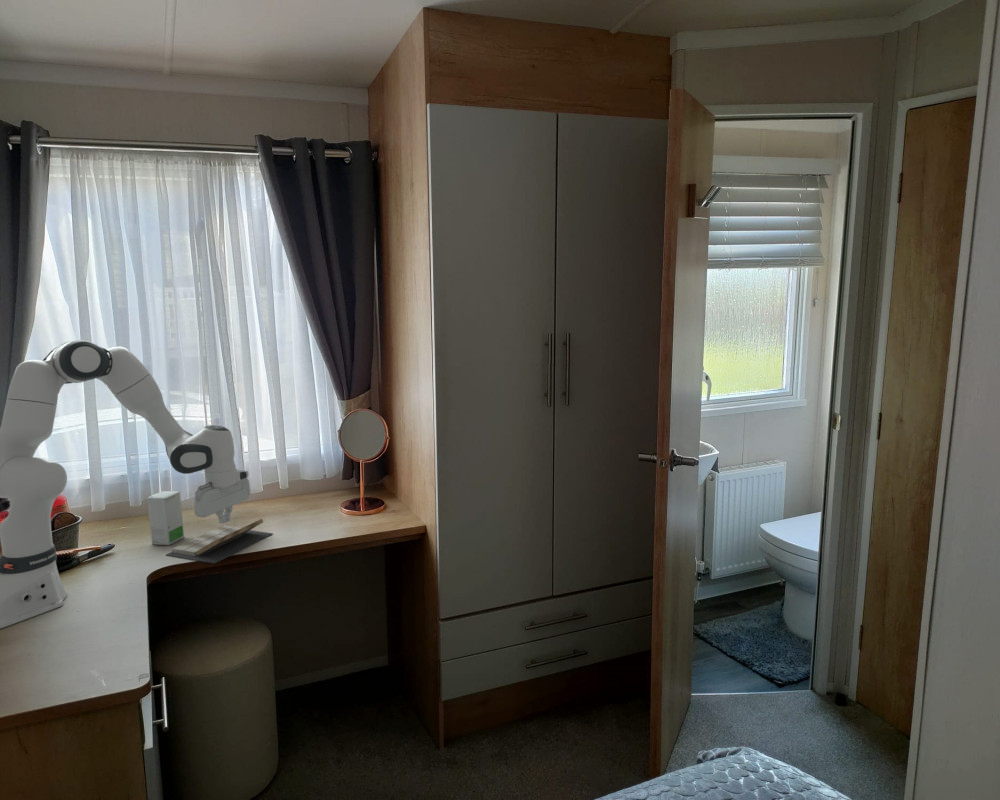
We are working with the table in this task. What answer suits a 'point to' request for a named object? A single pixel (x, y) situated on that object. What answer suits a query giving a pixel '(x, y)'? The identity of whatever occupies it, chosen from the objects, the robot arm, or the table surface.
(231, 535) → the plank
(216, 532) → the laid floor
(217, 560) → the underlay
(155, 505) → the skincare box
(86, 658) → the table surface
